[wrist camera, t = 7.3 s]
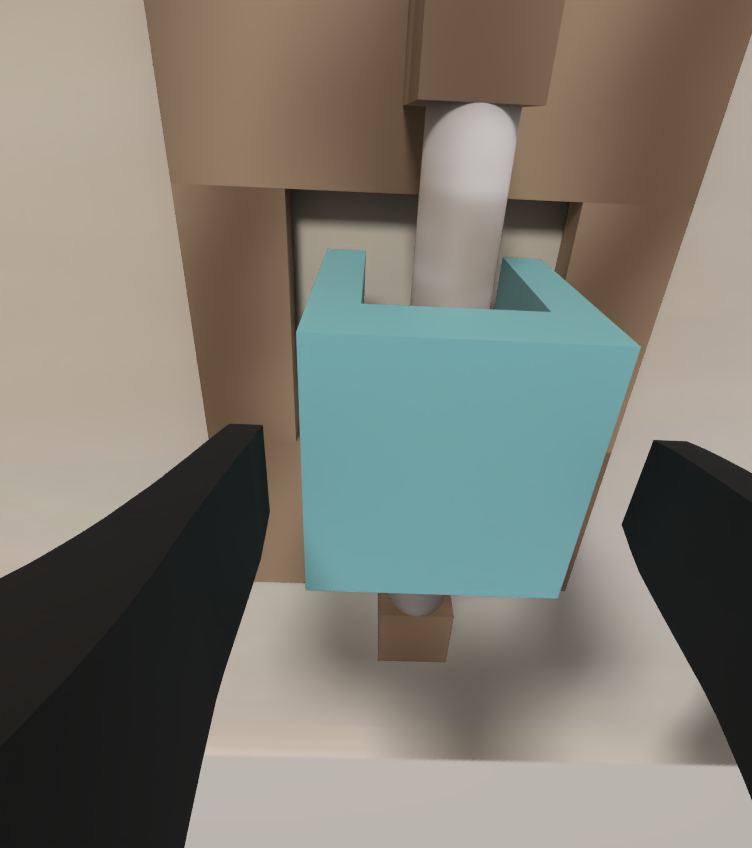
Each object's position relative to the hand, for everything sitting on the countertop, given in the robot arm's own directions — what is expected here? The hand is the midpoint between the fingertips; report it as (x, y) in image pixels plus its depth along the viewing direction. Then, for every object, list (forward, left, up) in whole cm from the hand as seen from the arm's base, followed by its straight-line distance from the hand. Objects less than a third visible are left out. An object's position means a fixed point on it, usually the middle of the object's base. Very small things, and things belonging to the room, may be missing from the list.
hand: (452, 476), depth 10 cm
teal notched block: (0, 0, -6) cm, 6 cm away
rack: (0, 0, -8) cm, 8 cm away
